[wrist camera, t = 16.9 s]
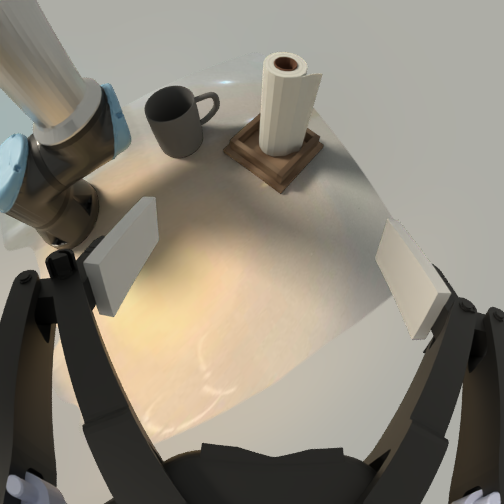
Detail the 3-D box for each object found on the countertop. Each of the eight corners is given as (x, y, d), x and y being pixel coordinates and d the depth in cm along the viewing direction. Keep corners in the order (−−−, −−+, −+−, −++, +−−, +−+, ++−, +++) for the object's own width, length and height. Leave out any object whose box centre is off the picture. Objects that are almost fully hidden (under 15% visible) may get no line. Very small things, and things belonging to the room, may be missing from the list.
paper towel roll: (252, 141, 54) (254, 59, 33) (276, 127, 55) (288, 46, 34) (275, 167, 53) (289, 87, 32) (300, 152, 53) (323, 72, 33)
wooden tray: (223, 152, 54) (222, 140, 50) (268, 111, 57) (269, 99, 53) (280, 193, 52) (282, 184, 49) (322, 147, 55) (327, 136, 51)
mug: (168, 166, 54) (151, 131, 42) (155, 134, 55) (138, 98, 44) (231, 138, 55) (227, 99, 43) (213, 109, 57) (207, 70, 45)
